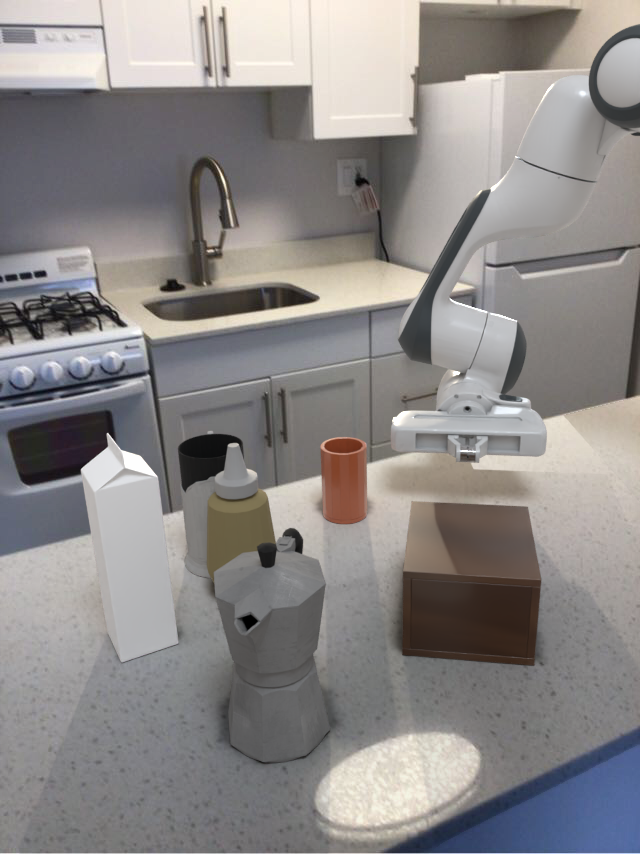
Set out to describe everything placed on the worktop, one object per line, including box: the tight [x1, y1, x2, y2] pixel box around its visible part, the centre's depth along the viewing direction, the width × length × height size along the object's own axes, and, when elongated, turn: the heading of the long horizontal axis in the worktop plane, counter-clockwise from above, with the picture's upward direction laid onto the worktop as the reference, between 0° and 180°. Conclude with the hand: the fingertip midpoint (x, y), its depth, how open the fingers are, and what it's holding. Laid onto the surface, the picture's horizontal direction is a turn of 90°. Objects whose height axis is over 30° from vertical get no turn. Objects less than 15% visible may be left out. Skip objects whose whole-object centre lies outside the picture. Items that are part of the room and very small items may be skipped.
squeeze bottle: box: [207, 443, 277, 584], centre depth 83 cm, size 8×8×18 cm
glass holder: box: [177, 430, 245, 579], centre depth 92 cm, size 9×14×15 cm, turn 9°
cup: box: [319, 436, 368, 525], centre depth 101 cm, size 6×6×10 cm
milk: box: [80, 432, 179, 663], centre depth 74 cm, size 6×6×22 cm
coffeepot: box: [213, 527, 331, 764], centre depth 64 cm, size 15×9×18 cm, turn 167°
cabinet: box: [401, 500, 542, 667], centre depth 78 cm, size 15×13×10 cm
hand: (467, 457), depth 94 cm, fingers closed
